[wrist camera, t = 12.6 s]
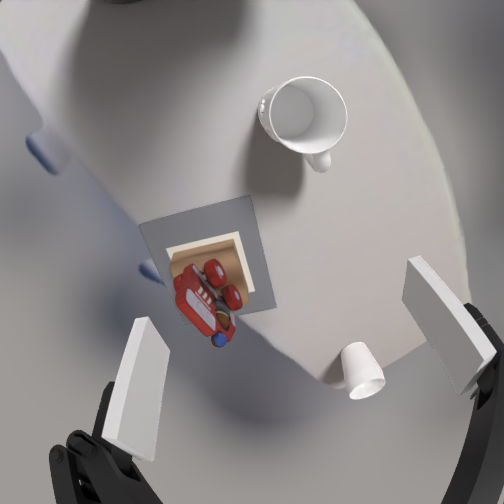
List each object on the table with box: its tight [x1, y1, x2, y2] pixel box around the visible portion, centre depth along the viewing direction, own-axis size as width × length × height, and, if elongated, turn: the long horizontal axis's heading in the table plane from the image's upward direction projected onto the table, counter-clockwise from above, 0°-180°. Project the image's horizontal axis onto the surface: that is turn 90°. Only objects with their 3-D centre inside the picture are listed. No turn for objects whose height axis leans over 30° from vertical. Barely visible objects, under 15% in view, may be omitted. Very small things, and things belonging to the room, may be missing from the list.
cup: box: [341, 342, 386, 399], centre depth 55 cm, size 9×9×12 cm
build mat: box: [138, 195, 277, 324], centre depth 45 cm, size 22×18×1 cm
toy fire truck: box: [173, 259, 243, 347], centre depth 37 cm, size 7×12×10 cm, turn 26°
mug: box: [258, 77, 347, 173], centre depth 29 cm, size 8×12×12 cm
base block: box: [169, 239, 249, 305], centre depth 43 cm, size 10×10×4 cm
